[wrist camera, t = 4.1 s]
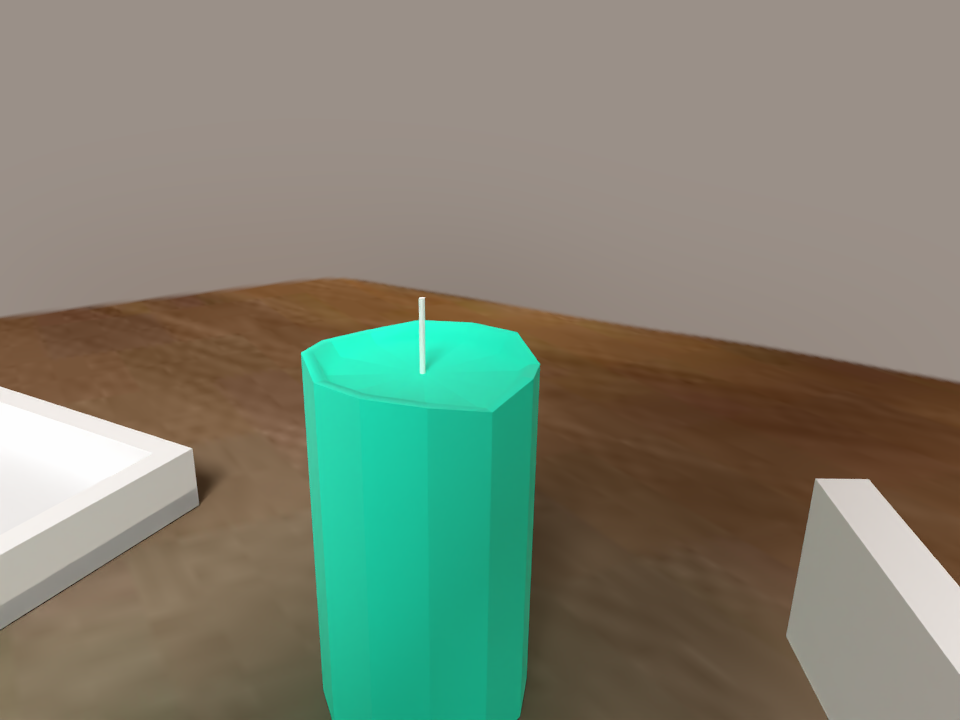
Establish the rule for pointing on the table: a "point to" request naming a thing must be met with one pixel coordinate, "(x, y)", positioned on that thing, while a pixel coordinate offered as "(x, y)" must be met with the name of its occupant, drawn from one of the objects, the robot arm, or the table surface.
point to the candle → (422, 518)
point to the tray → (77, 496)
